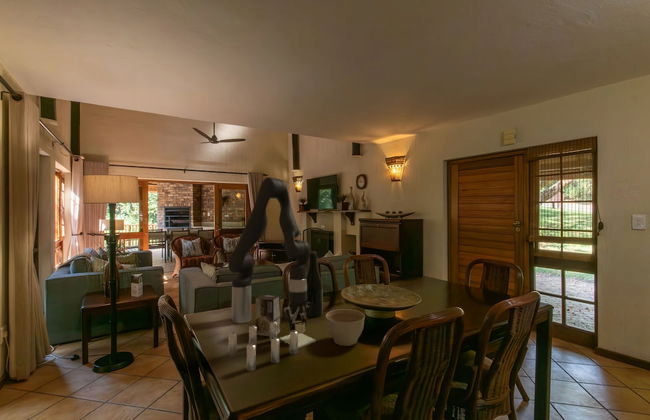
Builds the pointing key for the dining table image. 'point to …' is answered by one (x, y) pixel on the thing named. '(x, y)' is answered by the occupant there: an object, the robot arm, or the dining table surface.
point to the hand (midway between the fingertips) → (298, 329)
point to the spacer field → (253, 344)
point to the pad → (299, 340)
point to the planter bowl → (345, 326)
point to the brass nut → (299, 326)
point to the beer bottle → (314, 287)
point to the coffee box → (267, 313)
